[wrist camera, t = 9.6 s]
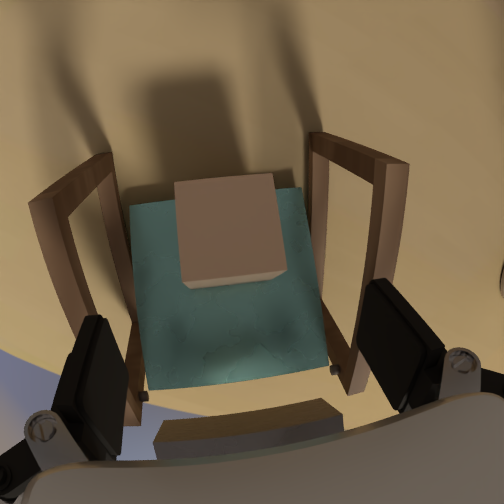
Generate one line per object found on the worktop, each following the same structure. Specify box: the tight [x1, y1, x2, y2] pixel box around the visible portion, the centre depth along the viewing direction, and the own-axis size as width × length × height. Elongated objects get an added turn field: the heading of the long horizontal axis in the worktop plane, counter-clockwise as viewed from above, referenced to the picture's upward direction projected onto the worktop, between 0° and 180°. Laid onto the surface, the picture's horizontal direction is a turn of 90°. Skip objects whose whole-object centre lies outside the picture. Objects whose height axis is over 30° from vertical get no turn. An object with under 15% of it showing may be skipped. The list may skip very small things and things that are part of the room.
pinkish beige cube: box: [174, 173, 287, 289], centre depth 18 cm, size 5×5×5 cm
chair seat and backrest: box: [129, 187, 344, 460], centre depth 20 cm, size 12×20×4 cm
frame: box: [28, 132, 410, 426], centre depth 19 cm, size 16×14×10 cm
